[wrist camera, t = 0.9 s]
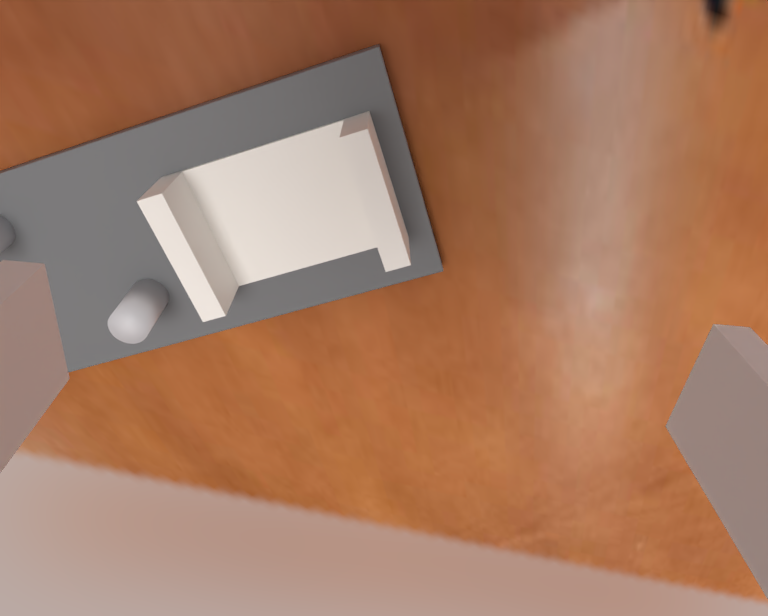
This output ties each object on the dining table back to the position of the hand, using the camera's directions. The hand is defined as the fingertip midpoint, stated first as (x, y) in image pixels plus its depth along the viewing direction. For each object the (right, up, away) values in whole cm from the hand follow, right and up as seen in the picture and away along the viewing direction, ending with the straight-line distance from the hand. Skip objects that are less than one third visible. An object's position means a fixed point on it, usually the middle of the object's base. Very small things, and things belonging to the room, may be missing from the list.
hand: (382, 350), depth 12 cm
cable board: (-13, +6, +26) cm, 30 cm away
